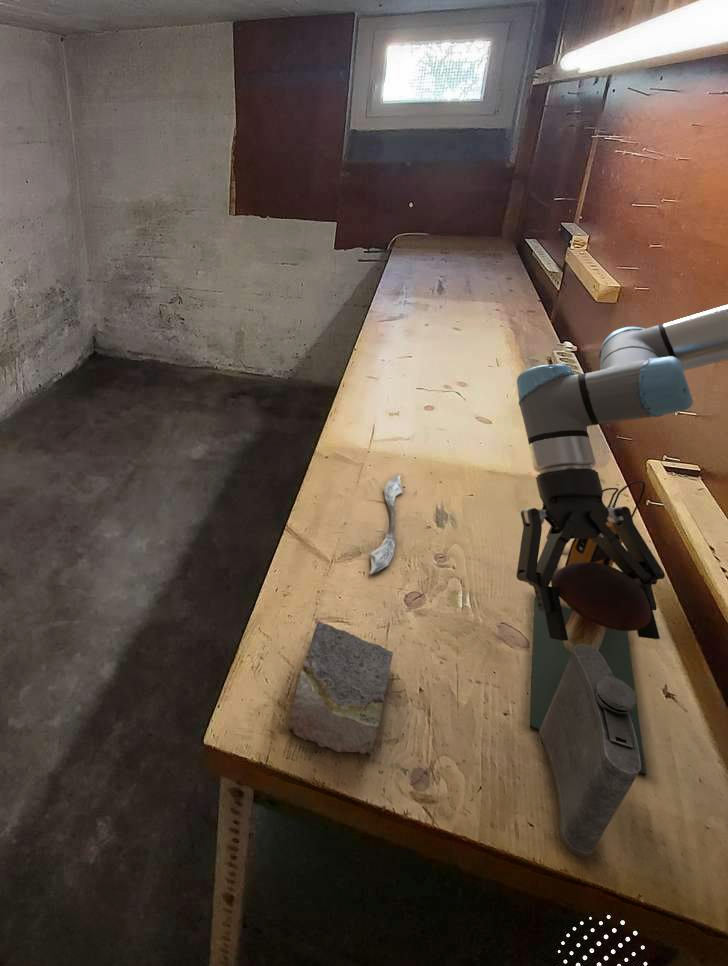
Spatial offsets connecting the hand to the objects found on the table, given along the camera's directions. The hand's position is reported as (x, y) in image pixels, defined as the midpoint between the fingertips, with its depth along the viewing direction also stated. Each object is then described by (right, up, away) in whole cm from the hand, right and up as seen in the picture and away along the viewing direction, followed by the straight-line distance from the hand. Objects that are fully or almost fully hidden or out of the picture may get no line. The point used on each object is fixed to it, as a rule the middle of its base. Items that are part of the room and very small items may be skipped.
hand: (604, 638), depth 73 cm
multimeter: (+10, +2, +23) cm, 25 cm away
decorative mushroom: (0, -4, +5) cm, 7 cm away
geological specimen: (-34, -10, +3) cm, 35 cm away
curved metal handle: (-16, +7, +35) cm, 39 cm away
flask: (-10, -14, -8) cm, 19 cm away
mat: (+1, -7, +5) cm, 9 cm away
